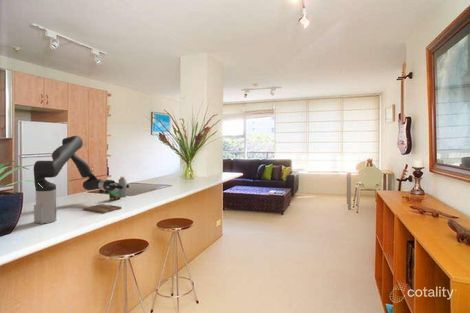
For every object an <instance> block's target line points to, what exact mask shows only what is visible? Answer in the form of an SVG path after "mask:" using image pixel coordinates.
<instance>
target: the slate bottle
mask: <svg viewBox="0 0 470 313" xmlns="http://www.w3.org/2000/svg"><path fill="white" fill-rule="evenodd" d="M127 180H128V179H127V178H126V177H125V176H120V178H118V183H119V185H120V186H123V189H119V197H120V198H121V199H123V198H127V188H126V184H127V185H128V182H127Z"/></svg>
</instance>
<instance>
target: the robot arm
mask: <svg viewBox="0 0 470 313" xmlns="http://www.w3.org/2000/svg"><path fill="white" fill-rule="evenodd" d="M61 144H62V145H59V146H58V147H57V148H56V149H55V150H54V151H52V153H51V159H52V160H36V161H35V163H34V165H33V177H34V178H33V180H34V187H35V188H34V189H35V204H33V220H34V221H33V222H34V224H35V223H36V224H40V225H42V224H49V223H53V222H56V221H57V186H56V183H53V182H50V181H48V180H47V179H46V178H56V177H57V176H58V175H59V174H60V173H61V170H62V169H63V167H64V165H65V164H66V163H67V162H68V161H69V160H72V161H73V163H74V165H75V166H76V168H77V171H78V173H79V175H80V177H81V178H84V179H85V178H87V179H85V180H84V181H83V183H82V188H83V189H84V190H87V191H93V190H94V191H95V190H102V191H108V192H109V191H113V190H114V189H123V186H120V185H119V182H116V181H115V180H114V179H101V178H98V177H97V176H96V175H94V173H93V172H92V170H91V168H90V166H89V164H88V162H86V161H85V160H84V159H83V158H81V157H80V156H78V155H77V154H76V152H77V151H79V150H80V149H82V147H83V145H84V143H83V138H81V136H80V135H72V136H68V137H65V138H63V139H62V141H61ZM38 183H39V184H40V185H41V186H42V187H43V188H42V187H41V186H40V185H39V184H38ZM129 188H130V184H128V183H127V184H126V189H129Z"/></svg>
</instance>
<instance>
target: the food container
mask: <svg viewBox="0 0 470 313" xmlns="http://www.w3.org/2000/svg"><path fill="white" fill-rule="evenodd" d="M108 195H109V197H108V198H109V201H111V202H112V201H119V200H121V199H122V198H120V197H119V189H114V190H113V191H108Z"/></svg>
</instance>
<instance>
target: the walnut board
mask: <svg viewBox="0 0 470 313" xmlns="http://www.w3.org/2000/svg"><path fill="white" fill-rule="evenodd" d="M121 209H122V206H118V205H112V204H111V205H110V204H105V203H100V204H95V205H92V206H87V207H83V209H82V210H83V211H85V212H86V211H88V212H91V213H92V212H94V213H99V214H106V213H110V212H113V211H118V210H121Z"/></svg>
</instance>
